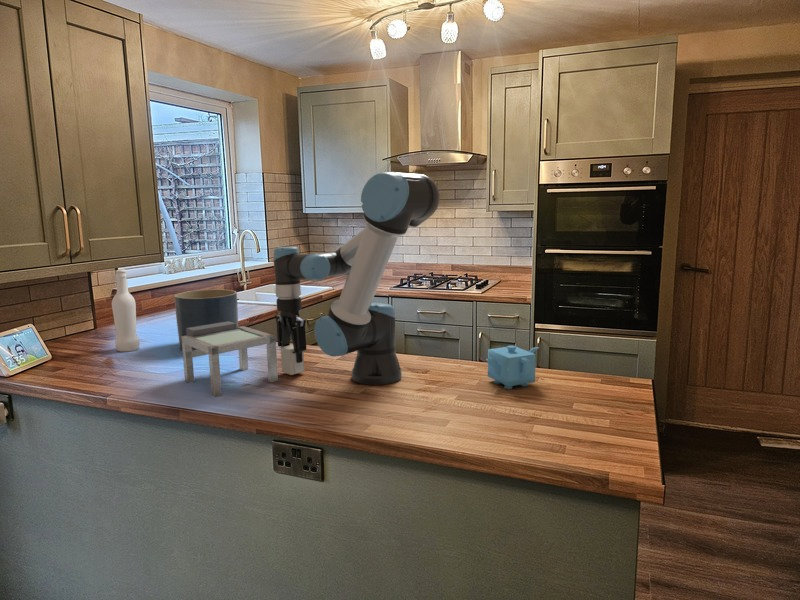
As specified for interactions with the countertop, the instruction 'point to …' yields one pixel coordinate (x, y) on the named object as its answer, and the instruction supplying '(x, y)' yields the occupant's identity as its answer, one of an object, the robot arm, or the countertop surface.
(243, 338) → the trapdoor
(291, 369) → the cream rectangular block
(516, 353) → the teapot
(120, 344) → the bottle
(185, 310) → the planter
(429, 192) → the robot arm
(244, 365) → the frame
